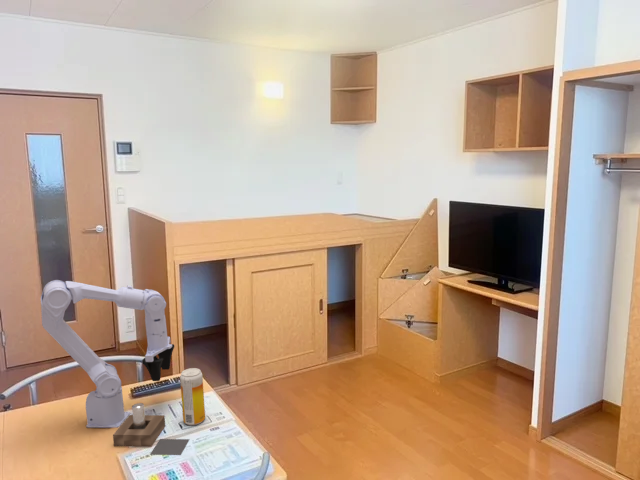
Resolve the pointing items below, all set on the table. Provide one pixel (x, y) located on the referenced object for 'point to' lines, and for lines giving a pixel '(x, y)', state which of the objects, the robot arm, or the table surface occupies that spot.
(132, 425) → the walnut block
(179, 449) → the rubber mat
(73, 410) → the table surface
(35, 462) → the table surface
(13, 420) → the table surface
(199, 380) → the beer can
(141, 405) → the steel peg
